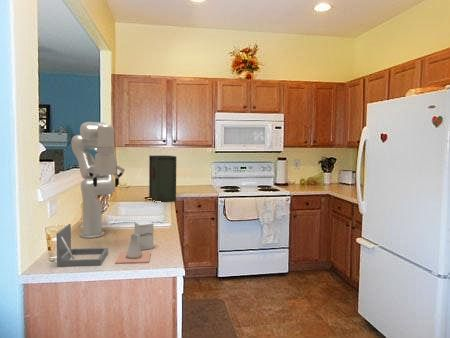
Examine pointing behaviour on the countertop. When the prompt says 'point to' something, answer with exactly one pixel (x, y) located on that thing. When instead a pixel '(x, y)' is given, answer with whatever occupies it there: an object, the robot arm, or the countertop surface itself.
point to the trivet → (124, 260)
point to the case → (75, 251)
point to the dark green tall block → (162, 178)
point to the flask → (134, 248)
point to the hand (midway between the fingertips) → (106, 186)
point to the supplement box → (144, 234)
